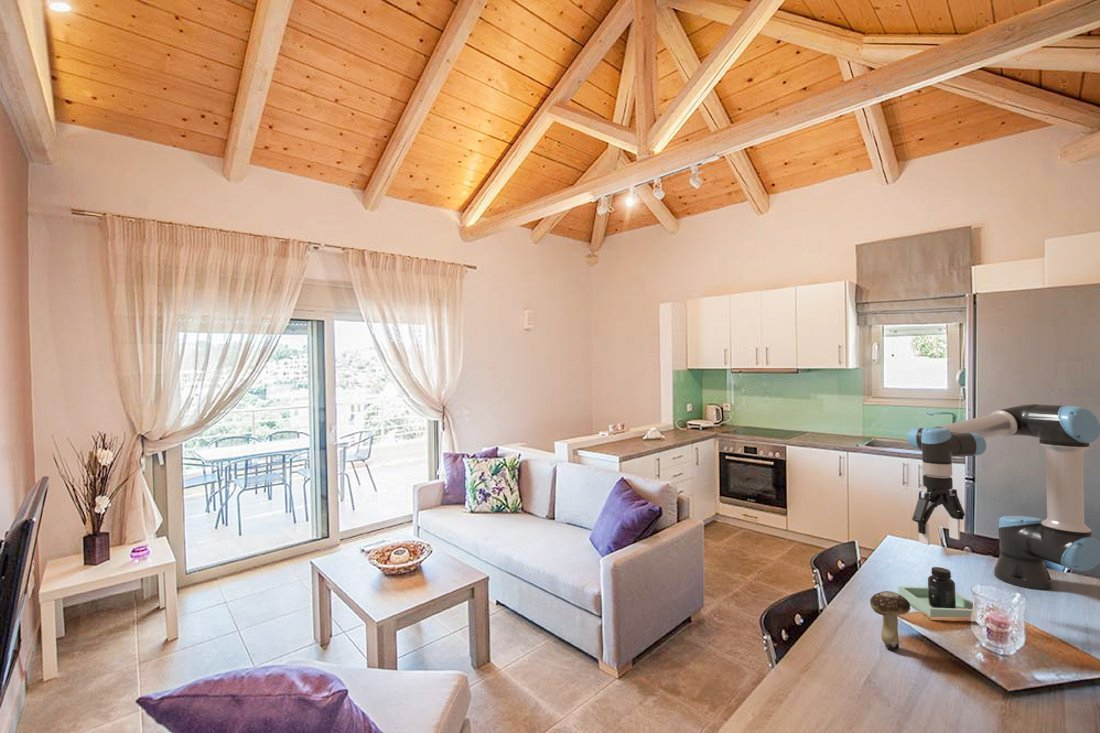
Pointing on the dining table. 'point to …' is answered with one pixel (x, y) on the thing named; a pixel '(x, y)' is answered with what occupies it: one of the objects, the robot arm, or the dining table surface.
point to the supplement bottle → (941, 589)
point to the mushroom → (890, 615)
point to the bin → (921, 603)
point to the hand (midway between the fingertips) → (939, 541)
